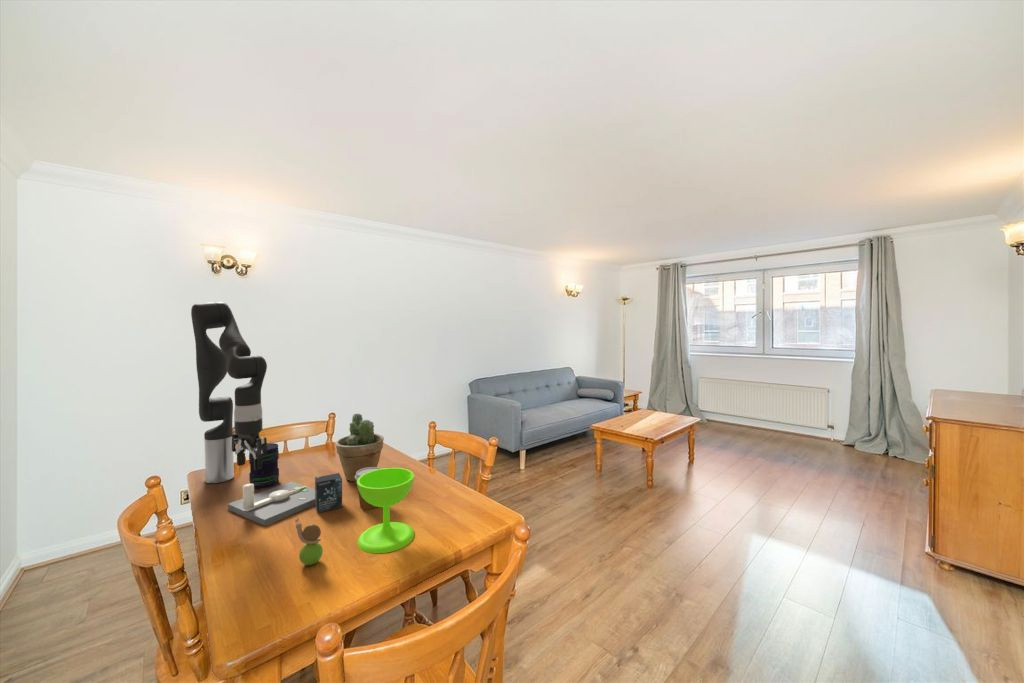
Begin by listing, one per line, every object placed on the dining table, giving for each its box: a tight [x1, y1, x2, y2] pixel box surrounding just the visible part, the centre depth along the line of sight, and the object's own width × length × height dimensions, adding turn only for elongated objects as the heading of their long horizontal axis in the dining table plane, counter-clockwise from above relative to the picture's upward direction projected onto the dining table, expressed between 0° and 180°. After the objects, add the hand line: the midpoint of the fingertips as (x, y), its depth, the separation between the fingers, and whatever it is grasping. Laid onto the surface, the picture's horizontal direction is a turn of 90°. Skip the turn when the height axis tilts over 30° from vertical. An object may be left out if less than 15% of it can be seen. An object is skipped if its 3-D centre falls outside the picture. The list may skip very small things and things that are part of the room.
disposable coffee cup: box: [355, 466, 383, 510], centre depth 136 cm, size 10×10×12 cm
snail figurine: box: [295, 517, 324, 566], centre depth 102 cm, size 5×6×12 cm
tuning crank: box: [242, 482, 308, 511], centre depth 136 cm, size 22×6×8 cm, turn 152°
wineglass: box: [356, 467, 415, 554], centre depth 115 cm, size 16×16×18 cm
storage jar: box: [248, 442, 280, 491], centre depth 153 cm, size 10×10×15 cm
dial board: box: [227, 481, 315, 527], centre depth 137 cm, size 22×22×2 cm
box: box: [314, 472, 343, 514], centre depth 134 cm, size 8×6×11 cm
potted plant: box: [335, 413, 385, 483], centre depth 161 cm, size 18×19×25 cm
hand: (249, 467), depth 127 cm, fingers open, 8 cm apart
